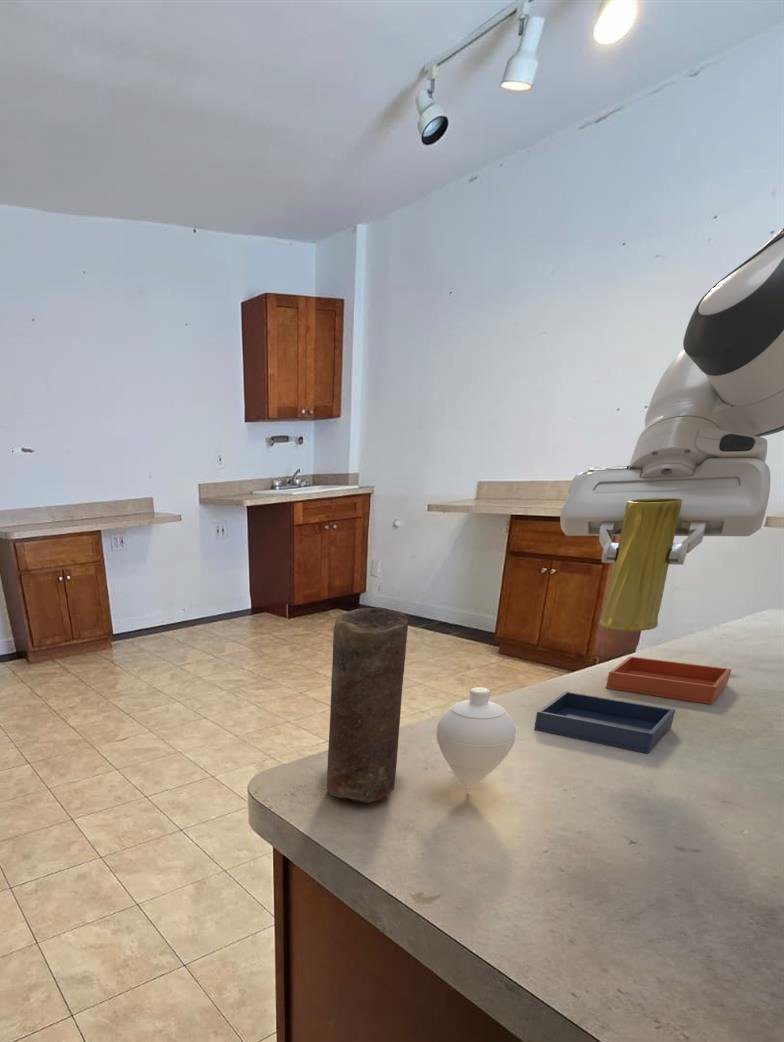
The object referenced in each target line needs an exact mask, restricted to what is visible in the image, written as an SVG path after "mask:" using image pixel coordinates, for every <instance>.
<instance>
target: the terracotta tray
mask: <svg viewBox="0 0 784 1042" xmlns="http://www.w3.org/2000/svg"><path fill="white" fill-rule="evenodd" d="M731 673H732V668H726V667H719V666H711V665H702V664H693V663H687V662H680V661H679V662H678V661H670V660H661V659H653V658H647V657H638V656H628V657H627V658H625V659H624V660H623V661H621V663H619V664H618V665H616V666H615V667H614V668H612V669H611V670H610V671H609V672H608V676H607V681H606V686H605V688H606V689H610V690H617V691H623V692H628V693H629V692H630V693H636V694H642V695H649V696H656V697H660V698H667V699H675V700H681V701H687V702H692V703H693V702H694V703H699V704H704V705H705V704H706V705H712V704H713V703H714V702H715V701H716V700H717V698H718V697H719V696H720V694H721V693H722V692H724V690H725V688H726V687H727V686H728V683H729V679H730V676H731Z"/></svg>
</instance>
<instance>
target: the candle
mask: <svg viewBox="0 0 784 1042" xmlns="http://www.w3.org/2000/svg"><path fill="white" fill-rule="evenodd" d="M408 629H409V619H408V617H407V615H406V614H405V613H403V612H402V611H399V610H394V609H389V608H385V607H365V608H363V607H360V608H356V609H353V610H349V611H347V612H346V613H343V614H340V615H339V616H338V617H337V618H336V620H335V622H334V626H333V632H332V634H333V635H332V637H333V639H332V662H331V663H332V665H331V679H330V680H331V684H330V685H331V686H330V708H329V710H330V711H329V712H330V713H329V732H328V750H327V769H326V770H327V771H326V789H327V793H329V794H330V795H331V796H333V797H337V798H341V799H343V798H344V799H349V800H350V801H352V802H354V803H361V804H368V803H369V804H370V803H371V802H375V801H379V800H382V799H383V798H384V797H386V796H389V795H390V794H391V793H393V791H394V790H395V784H396V774H397V765H398V749H399V737H400V725H401V715H402V714H401V713H402V711H401V710H402V698H403V697H402V696H403V695H402V694H403V685H404V674H405V665H406V664H405V663H406V654H407V641H408Z"/></svg>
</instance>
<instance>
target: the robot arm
mask: <svg viewBox="0 0 784 1042" xmlns="http://www.w3.org/2000/svg"><path fill="white" fill-rule="evenodd" d="M682 341H683V343H682V347H683V350H681V351H680V353H678V354H677V355H676V357H675V358H674V359H673V360H672V361H671V363H670V364H669V365H668V367H667V368H666V369H665V371H664V372H663V373H662V376H661V377H660V379H659V381H658V382H657V385H656V387H655V389H654V392H653V394H652V395H651V399H650V402H649V405H648V408H647V411H646V413H645V418H644V429H643V431H642V432H641V433H640V435H639V436H638V439H637V441H636V444H635V447H634V450H633V453H632V456H631V459H630V461H629V465H620V466H619V465H618V466H610V467H609V466H608V467H590V468H588V469H587V471H583V472H581V473H579V474H576V475H575V476H574V477H573V478H572V480H571V482H570V486H569V489H568V496H567V498H566V499H565V502H564V504H563V506H562V509H561V510H560V517H559V520H560V521H559V522H560V529H561V531H562V533H564V535H565V536H568V537H598V538H599V544H600V545H601V548H602V553H601V563H602V564H615V561H616V556H617V550H618V545H619V542H613V540H614V537H620V535H621V530H622V524H623V519H624V514H625V508H626V504H627V502H628V501H630V500H639V499H660V498H672V499H682V505H681V510H680V514H679V518H678V522H677V526H676V531H675V536H674V537H686V538H685V539H683V541H682V542H680V543H675V542H673V545H672V547H671V551H670V554H669V559H668V560H669V561H668V564H669V565H676V566H677V565H679V566H680V565H681V566H682V565H684V563H685V560H686V557H687V554H689V553H690V552H691V551H693V550H694V549H695V548H697V547H698V546H699V545H700V544H701V543H703V539H704V537H750V536H752V535H754V534H755V533H757V532H758V531H759V530H761V528H762V526H763V523H764V519H765V516H766V512H767V509H768V504H769V499H770V492H771V471H770V467H769V465H768V464H767V463H766V460H767V456H768V455H767V454H768V440H767V439H766V438H764V437H765V436H769V435H773V434H777V433H780V432H783V431H784V227H782V228H781V229H780V230H779V231H778V232H777V233H776V234H775V235H774V236H773V237H771V239H769V241H767V243H765V245H763V246H762V247H761V248H760V249H759V250H757V252H755V253H754V254H753V255H752V256H750V257H749V258H748V259H747V260H745V261H744V262H743V263H740V265H739V266H737V267H736V268H734V269H733V270H732V271H731V272H729V273H728V274H727V275H725V276H724V277H723V278H722V279H720V280H719V281H718V282H717V283H715V285H713V286H712V287H711V288H710V289H709V290H708V291H707V292H706V293H705V294H704V295H703V296H702V298H701V299H700V300H699V302H698V303H697V304H696V307H695V308H694V310H693V312H692V314H691V317H690V318H689V322H688V324H687V325H686V330H685V333H684V336H683V340H682Z"/></svg>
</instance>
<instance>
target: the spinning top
mask: <svg viewBox="0 0 784 1042" xmlns="http://www.w3.org/2000/svg"><path fill="white" fill-rule="evenodd" d="M490 696H491V690H490V689H489V688H486V687H481V686H477V687H472V688H470V690H469V699H466V700H462V701H459V702H456V703H454V704H453V705H451V707H450V708H449V709H447V710H446V711H445V712H444V713H443V715H442V716H441V717H440V719H439V721H438V722H437V726H436V731H435V732H436V741H437V744H438V748H439V750H440V752H441V753H442V756H443V758H444V760H445V761H446V763H447V764H448V766H449V768H450V769H451V770H452V773H454V775H455V776H456V777H457V778H458V780H459V781H460V783H462V785H463V786H465V787H466V791H465V793H466V795H467V794H468V795H470V794H471V788H473V787H475V786H477V785H478V784H479V783H481V782H483V780H484V779H485V778H486V777H488V776H489V775H490V774H491V773H492V772H493V771H495V770H496V769H497V767H498V766H499V765H500V764H501V763H502V762H503V761H504V760H505V758H506V757H507V756H508V755H509V753H510V752H511V750H512V749H513V746H514V745H515V741H516V737H517V730H516V725H515V723H514V720H513V718H512V717H511V715H510V714H509V713H508V712H507V711H506V708H505V707H503V706H502V705H500V704H499V703H496V702H493V701H491V700H489V699H490Z"/></svg>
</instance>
